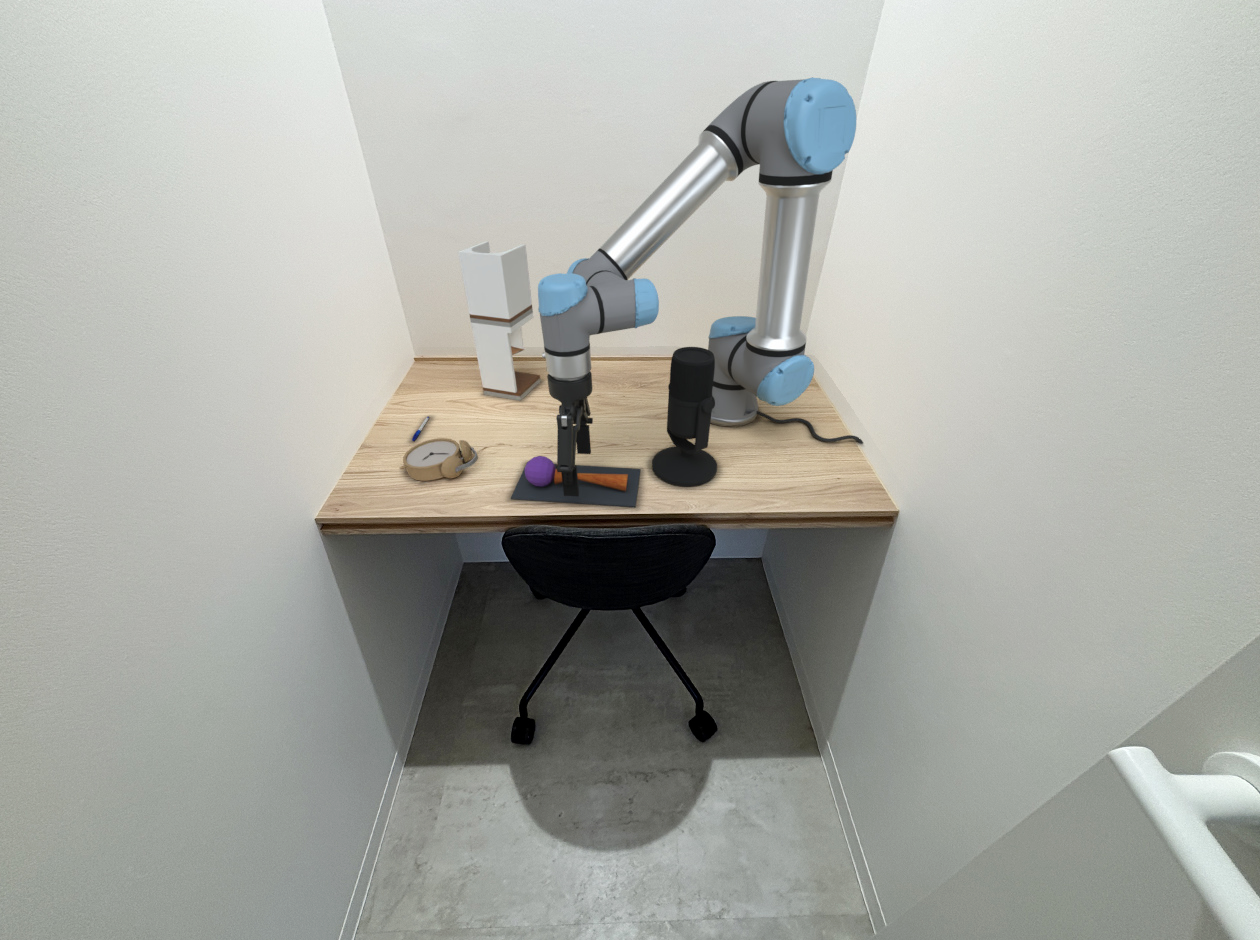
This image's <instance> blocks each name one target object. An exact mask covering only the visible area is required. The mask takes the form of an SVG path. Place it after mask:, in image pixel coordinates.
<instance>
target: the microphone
mask: <svg viewBox="0 0 1260 940" xmlns="http://www.w3.org/2000/svg"><path fill="white" fill-rule="evenodd" d="M670 360H671V361H670V371H669V383H668V387H667V388H668V398H667V400H668V401H667V416H666V417H667V418H666V432H667V434H668V436H669V438H670V440H671V442H672V444H673V446H669V447H666V448H664V449H661V450H660V451H658V452H657V453H656V454H655V455H654V456H653V458H652V461H651V469H652V472H653V474H654V475H655V476H656V477H657V478H658V479H659V480H661V481H662V482H664V483H666V484H669V485H671V486H675V487H681V488H692V487H699V486H702V485H705V484H708V483H710V482H711V481H712V480H713V479H714V478H715V477H716V475H717V472H718V463H717V461H716V459H715V457H714V456H712V455H711V454H710V453H709V452H707V451H706V450H705V449H707V448H708V446H709V438H710V437H709V436H710V429H711V423H710V422H711V413H712V409H713V408H714V407H715V399H714V397H713V396H712V389H713V380H714V370H715V358H714V354H713V353H712V352H711V351H709V350H708V348H704V347H700V346H683V347H679V348H677V349H676V350H674V351H673V353H672V356H671V359H670ZM693 439H694V443H693V442H691V441H690V440H693Z"/></svg>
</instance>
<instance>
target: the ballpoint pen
mask: <svg viewBox="0 0 1260 940" xmlns="http://www.w3.org/2000/svg"><path fill="white" fill-rule="evenodd" d="M429 419H430V416H426V417H425V419H424V420H423V422H422V423H421V424H420V427H419V428H418V429H417V430H416V431H415V433H414V434H413V436H412V439H411V441H412V442H415V441H416V440H417V439H418V437H419V435H420V434H421V432H422V430H423V429H424V427H425V426H426V425H427V423H428V421H429Z"/></svg>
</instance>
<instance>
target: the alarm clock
mask: <svg viewBox="0 0 1260 940" xmlns="http://www.w3.org/2000/svg"><path fill="white" fill-rule="evenodd" d="M473 454H474V456H473V458H472V455H473ZM463 461H464V462H465V463H463ZM477 461H478V453H477V451H476V450H475V448H474V447H472V446H471V445H470V443H469V442H468V441H467V440H464V439H459V440H458V442H457V440H455V439H452V438H445V437H437V438H432V439H427V440H424V441H422V442H419V443H417V444H415V445H413V446H412V447H410V448H409V449H408V450H407V451H406V452H405V453H404V455H403V457H402V463H403V464H404V465H402V466H400V467H399V470H405V469H406V472H407V474H408V476H409V477H410V479H413V480H416V481H422V482H425V481H435V480H438V479H442V478H446V479H456V478H458V477H459V476H460V475H461V474H462V472H463V470H464V469H468V468H470V467H472V466H473V465H474V464H476V462H477Z"/></svg>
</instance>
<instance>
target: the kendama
mask: <svg viewBox="0 0 1260 940" xmlns="http://www.w3.org/2000/svg"><path fill="white" fill-rule="evenodd" d="M527 462H528V463H527ZM527 462H526V463H527V465H526V464H525V466H526V467H525V466H524V468H525V476H526V478H527V480H528V481H529V482H530V483H531V484H533V485H535V486H539V487H543V486H547V485H548V484H550V483H551V482H552V481H553V480H554V482H555V484H558V483H561V482H562V474H561V472H557V469H556V468H555V465H554V464H555V463H554V461H552V459H551V458H549V457H547V456H543V455H537V456H534V457H532V458H530V460H528V461H527ZM577 475H578V480H582V481H586V482H590V483H594V484H598V485H602V486H606V487H610V488H614V489H618V490H622V491H626V487H627V480H628V474H591V473H577Z"/></svg>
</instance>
